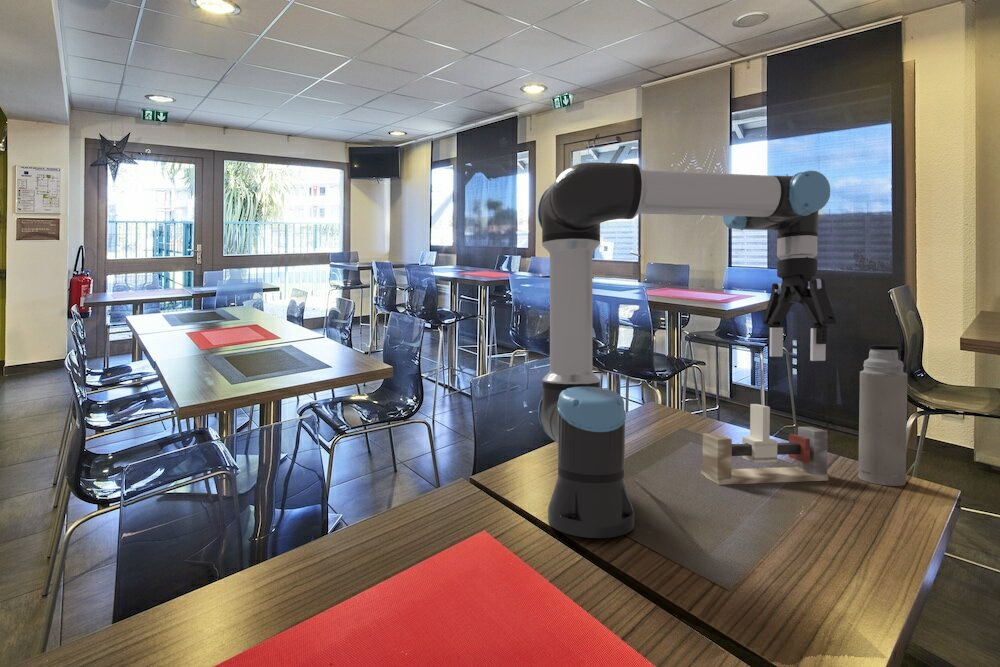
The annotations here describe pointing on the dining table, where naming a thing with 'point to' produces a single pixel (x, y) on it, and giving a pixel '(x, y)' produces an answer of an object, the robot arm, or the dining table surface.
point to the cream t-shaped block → (760, 436)
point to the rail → (801, 447)
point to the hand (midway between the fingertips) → (795, 358)
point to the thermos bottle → (883, 418)
